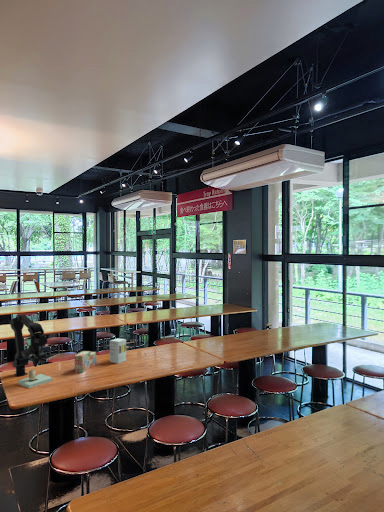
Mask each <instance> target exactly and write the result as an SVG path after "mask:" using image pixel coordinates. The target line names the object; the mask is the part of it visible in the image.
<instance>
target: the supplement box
mask: <svg viewBox="0 0 384 512" xmlns="http://www.w3.org/2000/svg"><path fill="white" fill-rule="evenodd" d="M109 362H110V363H114V364H121V363H124V362H127V339H126V338H119V337H118V338H114V339H110V340H109Z"/></svg>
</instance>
